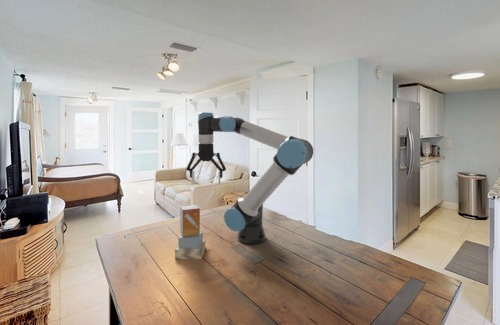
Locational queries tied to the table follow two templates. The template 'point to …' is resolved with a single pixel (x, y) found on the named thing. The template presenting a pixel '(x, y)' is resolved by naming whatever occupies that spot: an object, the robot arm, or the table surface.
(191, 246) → the tower top
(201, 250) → the tower base
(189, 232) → the small box
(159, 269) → the table surface
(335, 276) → the table surface
